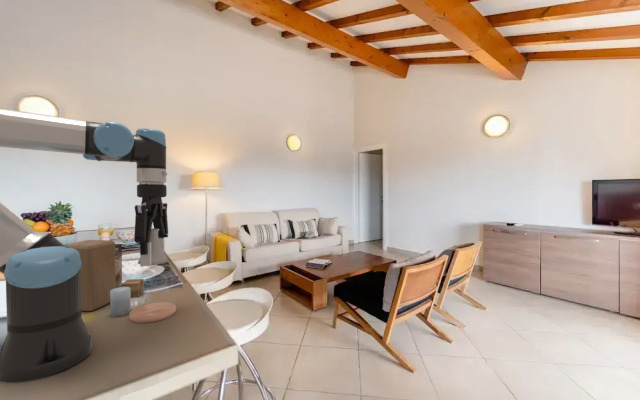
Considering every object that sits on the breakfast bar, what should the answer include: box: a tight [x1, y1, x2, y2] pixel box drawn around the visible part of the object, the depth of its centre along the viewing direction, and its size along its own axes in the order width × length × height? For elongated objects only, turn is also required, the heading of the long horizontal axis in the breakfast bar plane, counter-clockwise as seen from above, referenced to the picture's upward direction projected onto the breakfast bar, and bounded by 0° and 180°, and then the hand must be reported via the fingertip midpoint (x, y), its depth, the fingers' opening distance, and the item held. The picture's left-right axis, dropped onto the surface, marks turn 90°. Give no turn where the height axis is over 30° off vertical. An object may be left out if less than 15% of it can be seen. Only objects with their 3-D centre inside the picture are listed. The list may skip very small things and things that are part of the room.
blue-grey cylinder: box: [109, 286, 132, 317], centre depth 89 cm, size 5×5×7 cm
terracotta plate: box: [128, 301, 177, 324], centre depth 88 cm, size 12×12×1 cm
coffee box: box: [115, 243, 123, 288], centre depth 109 cm, size 9×6×16 cm
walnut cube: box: [121, 278, 145, 299], centre depth 104 cm, size 5×5×5 cm
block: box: [64, 239, 116, 312], centre depth 94 cm, size 10×10×20 cm
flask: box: [137, 227, 168, 266], centre depth 88 cm, size 7×7×10 cm
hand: (153, 262), depth 88 cm, fingers closed on flask, 7 cm apart
